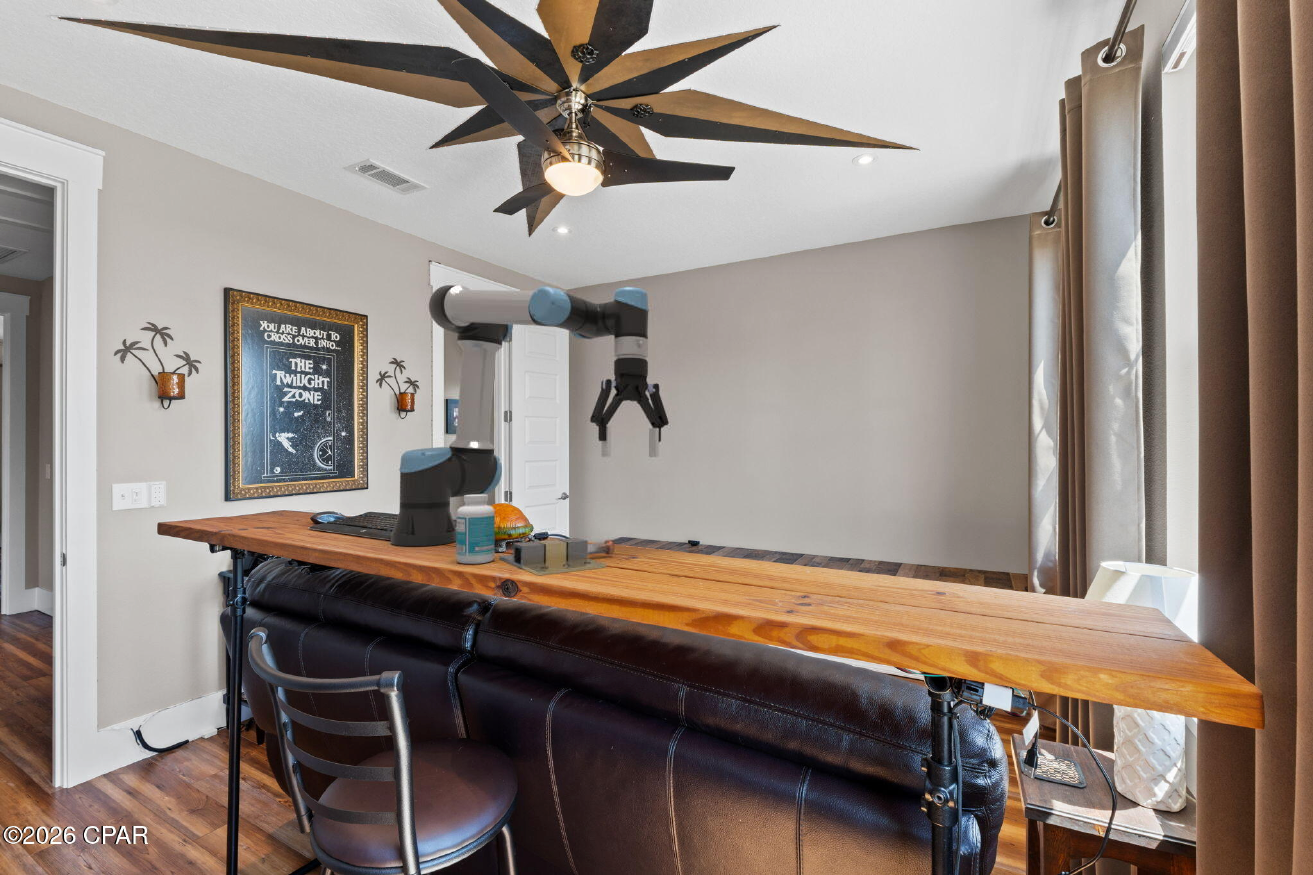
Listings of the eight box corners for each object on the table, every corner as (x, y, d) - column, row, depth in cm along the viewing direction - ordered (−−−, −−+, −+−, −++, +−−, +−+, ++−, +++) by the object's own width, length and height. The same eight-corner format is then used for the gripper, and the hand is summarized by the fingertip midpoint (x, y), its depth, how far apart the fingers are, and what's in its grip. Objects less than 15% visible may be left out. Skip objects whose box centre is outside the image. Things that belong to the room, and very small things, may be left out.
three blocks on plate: (499, 558, 120) (499, 538, 120) (560, 552, 128) (560, 533, 128) (538, 575, 104) (539, 551, 104) (606, 567, 112) (606, 545, 112)
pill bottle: (499, 558, 121) (500, 493, 121) (486, 565, 113) (487, 496, 114) (465, 557, 121) (466, 493, 122) (449, 564, 114) (450, 495, 115)
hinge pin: (543, 559, 117) (543, 544, 117) (607, 552, 125) (607, 539, 126) (549, 562, 114) (549, 546, 114) (614, 554, 123) (614, 540, 123)
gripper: (591, 350, 118) (590, 456, 118) (684, 362, 132) (684, 457, 131) (574, 355, 124) (573, 456, 124) (665, 366, 138) (664, 456, 137)
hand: (630, 456), depth 128 cm, fingers open, 12 cm apart
